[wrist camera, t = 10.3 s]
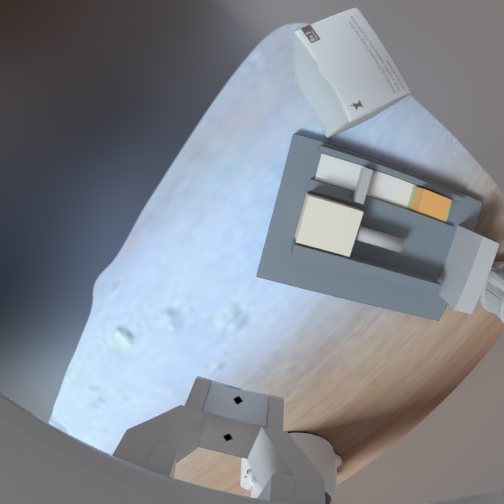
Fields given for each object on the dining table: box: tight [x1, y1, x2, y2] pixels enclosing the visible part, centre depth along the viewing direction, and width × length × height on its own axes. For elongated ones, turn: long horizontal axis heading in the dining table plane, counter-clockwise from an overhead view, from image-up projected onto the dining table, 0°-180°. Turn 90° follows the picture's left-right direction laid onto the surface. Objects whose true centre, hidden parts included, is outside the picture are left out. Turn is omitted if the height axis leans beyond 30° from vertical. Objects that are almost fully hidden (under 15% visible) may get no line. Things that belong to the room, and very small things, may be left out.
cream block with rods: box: [295, 167, 404, 257], centre depth 33 cm, size 10×12×3 cm
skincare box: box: [294, 8, 411, 138], centre depth 25 cm, size 8×6×15 cm
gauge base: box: [256, 134, 499, 321], centre depth 33 cm, size 17×26×7 cm, turn 76°
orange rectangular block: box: [410, 187, 451, 221], centre depth 32 cm, size 3×4×2 cm, turn 76°
